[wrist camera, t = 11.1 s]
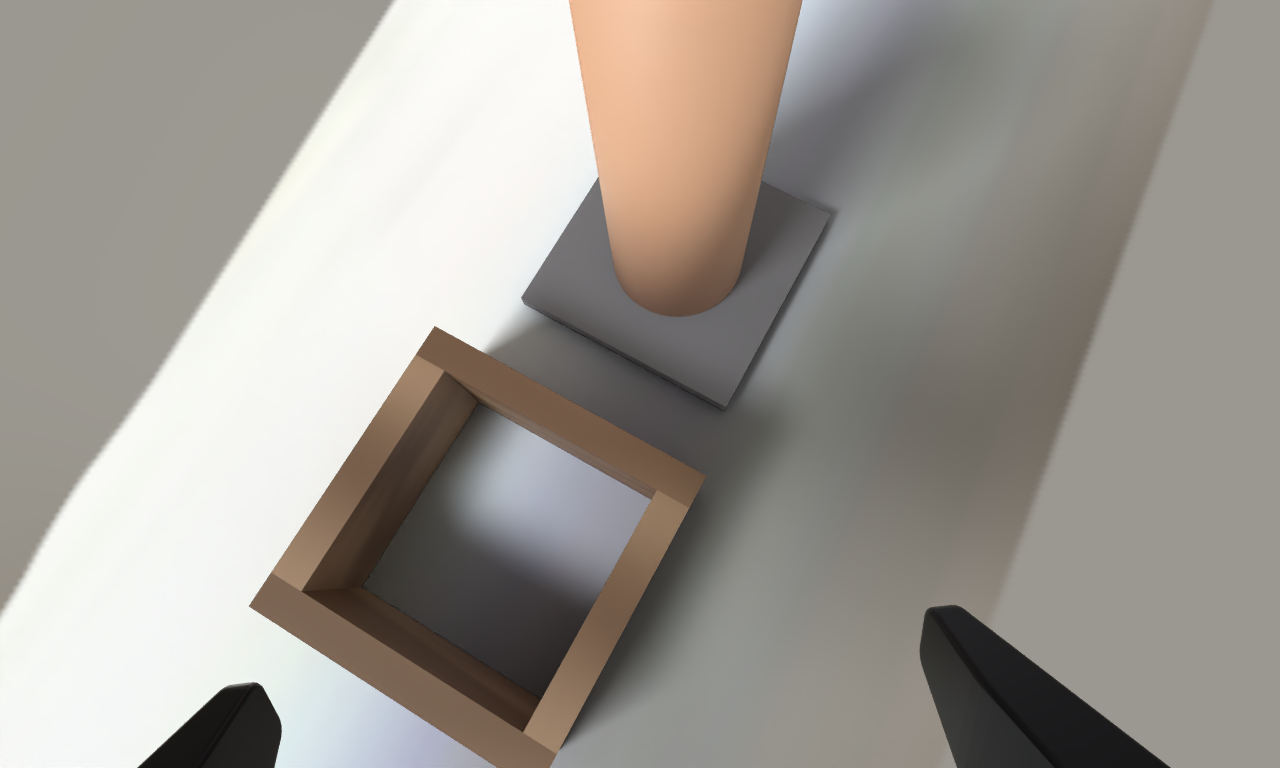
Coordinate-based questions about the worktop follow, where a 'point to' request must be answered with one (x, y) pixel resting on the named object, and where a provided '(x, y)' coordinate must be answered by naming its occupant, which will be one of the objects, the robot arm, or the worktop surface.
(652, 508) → the socket block
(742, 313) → the mat
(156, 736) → the worktop surface
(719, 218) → the peg
